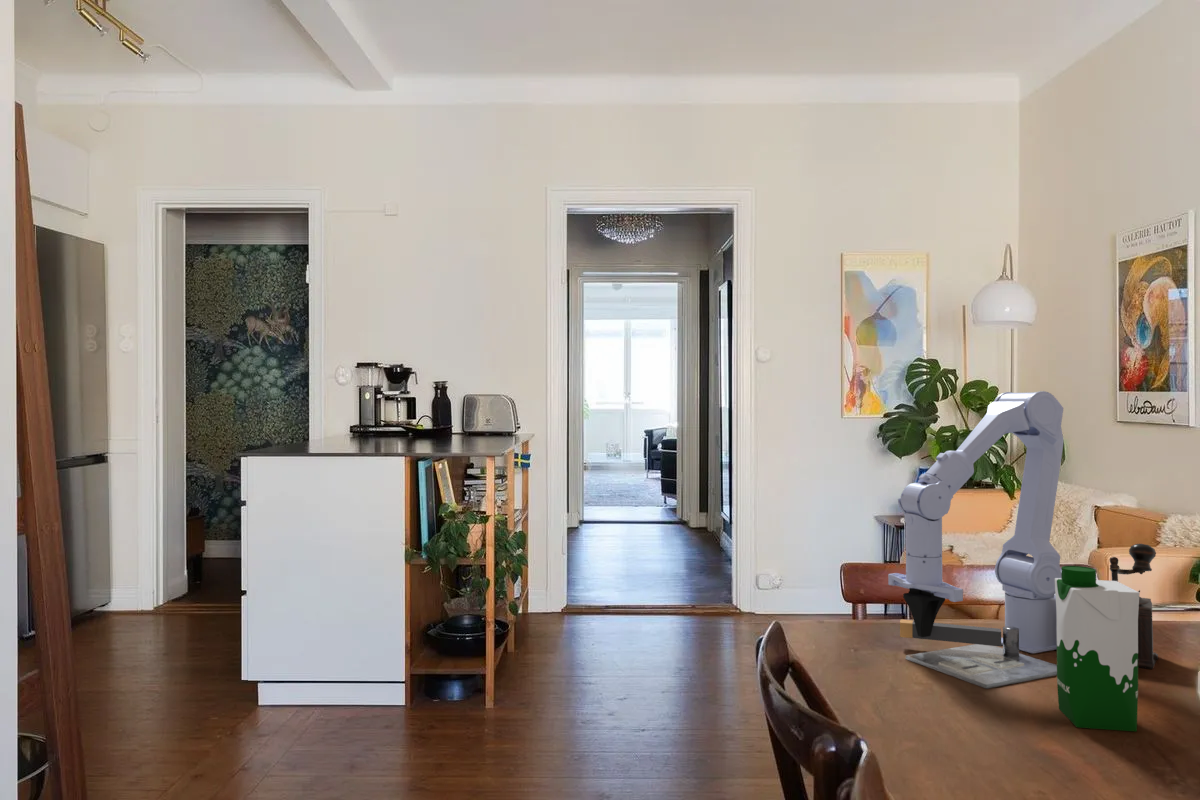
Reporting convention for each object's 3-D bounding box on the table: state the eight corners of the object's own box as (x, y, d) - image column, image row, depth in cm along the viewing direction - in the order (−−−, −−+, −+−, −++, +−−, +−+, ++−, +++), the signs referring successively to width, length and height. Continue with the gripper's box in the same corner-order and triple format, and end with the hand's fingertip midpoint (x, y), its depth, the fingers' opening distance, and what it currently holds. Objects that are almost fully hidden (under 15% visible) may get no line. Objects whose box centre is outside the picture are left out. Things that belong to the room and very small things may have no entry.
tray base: (984, 646, 146) (984, 617, 146) (1069, 672, 132) (1069, 640, 132) (905, 659, 139) (905, 628, 139) (986, 688, 124) (986, 654, 124)
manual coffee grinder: (1158, 671, 133) (1158, 556, 133) (1078, 659, 139) (1077, 550, 139) (1156, 647, 146) (1156, 543, 146) (1083, 637, 152) (1082, 537, 152)
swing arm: (1000, 643, 141) (1000, 628, 141) (1001, 647, 139) (1001, 631, 139) (900, 633, 147) (900, 619, 147) (900, 637, 144) (900, 622, 144)
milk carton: (1049, 706, 117) (1048, 561, 117) (1121, 710, 115) (1120, 564, 115) (1071, 730, 108) (1070, 574, 109) (1149, 735, 107) (1148, 577, 107)
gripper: (874, 549, 147) (875, 628, 147) (940, 564, 134) (940, 650, 133) (905, 547, 150) (905, 623, 150) (972, 560, 136) (972, 644, 136)
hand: (924, 635), depth 142 cm, fingers closed
